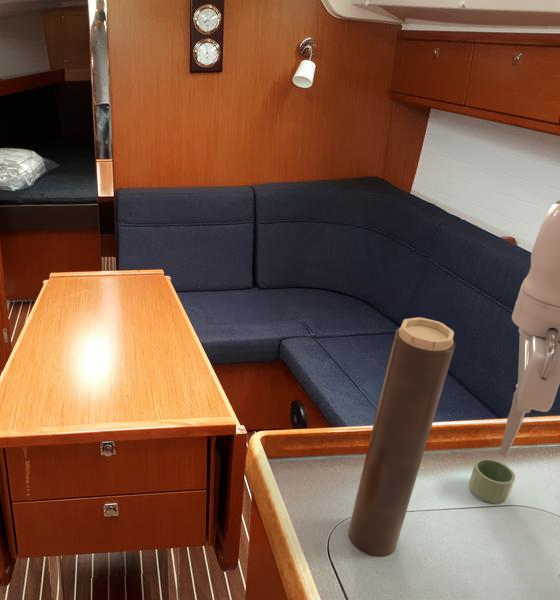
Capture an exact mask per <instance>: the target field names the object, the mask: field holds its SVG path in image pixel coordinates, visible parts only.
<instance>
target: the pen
mask: <svg viewBox="0 0 560 600" xmlns="http://www.w3.org/2000/svg"><path fill="white" fill-rule="evenodd" d="M515 388H517V389H515V391H514V393H513V397H512V403H511V408H510V411H509V413H508V416H507V419H506V424H505V427H504V428H505V429H504V432H503V436H502V441H501V445H500V448H499V453H498V454H499V455H500V456H501V457H503V458H506V457H507V456H508V454H509V452H510V450H511V448H512V446H513V444H514V442H515V439H516V436H517V434H518V433H519V430H520V428H521V426H522V424H523V422H524V418H525V415H526V414H527V413H525V412H521V411H518V410H517V409H516V401H517V393H518V383H516V385H515Z"/></svg>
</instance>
